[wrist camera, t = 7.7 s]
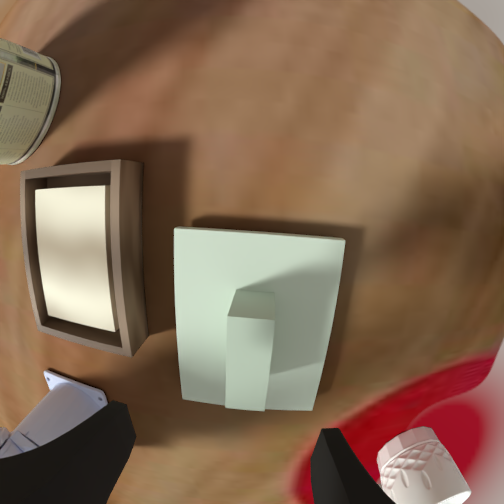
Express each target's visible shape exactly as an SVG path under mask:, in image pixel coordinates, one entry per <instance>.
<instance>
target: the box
mask: <svg viewBox="0 0 504 504" xmlns="http://www.w3.org/2000/svg"><path fill="white" fill-rule="evenodd" d="M143 167H144V163H142V162H135V161H129V160H122V159H119V160H105V161H94V162H84V163H75V164H66V165H59V166H51V167H44V168H38V169H32V170H26V171H21V179H20V210H21V230H22V243H23V252H24V261H25V268H26V275H27V281H28V287H29V292H30V298H31V302H32V307H33V312H34V316H35V320H36V324H37V328H38V331H41V332H44V333H47V334H50V335H53V336H56V337H59V338H62V339H65V340H68V341H71V342H75V343H78V344H81V345H85V346H88V347H92V348H96V349H99V350H103V351H107V352H111V353H115V354H119V355H123V356H128V357H133V356H134V354H135V353H136V352H137V350H138V349H139V348H140V346H141V345H142V344H143V343H144V341H145V340H146V339H147V337H148V336H149V333H148V324H147V314H146V303H145V290H144V273H143V249H142V191H143Z"/></svg>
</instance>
